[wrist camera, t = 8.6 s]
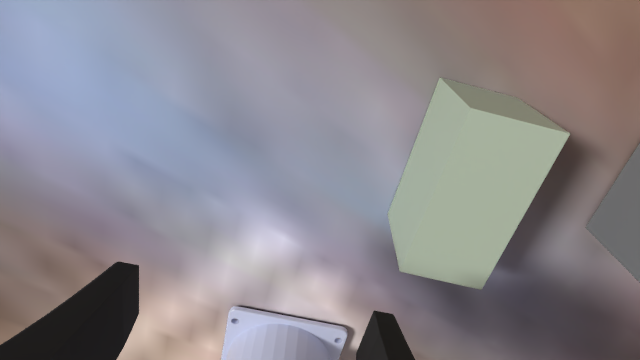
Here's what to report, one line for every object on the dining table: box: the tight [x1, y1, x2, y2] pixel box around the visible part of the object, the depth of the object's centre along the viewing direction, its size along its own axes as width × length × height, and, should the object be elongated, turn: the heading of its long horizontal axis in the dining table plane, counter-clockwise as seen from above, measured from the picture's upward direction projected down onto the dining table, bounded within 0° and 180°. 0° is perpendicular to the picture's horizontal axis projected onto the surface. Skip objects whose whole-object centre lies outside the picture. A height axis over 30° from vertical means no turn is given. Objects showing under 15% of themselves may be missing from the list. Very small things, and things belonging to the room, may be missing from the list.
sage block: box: [388, 78, 570, 290], centre depth 19 cm, size 8×4×5 cm, turn 166°
